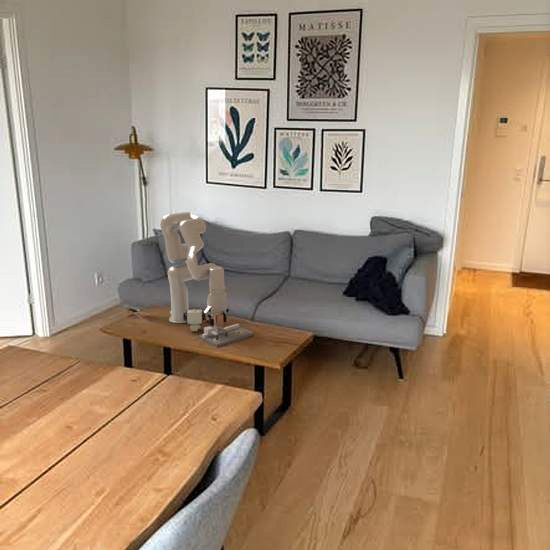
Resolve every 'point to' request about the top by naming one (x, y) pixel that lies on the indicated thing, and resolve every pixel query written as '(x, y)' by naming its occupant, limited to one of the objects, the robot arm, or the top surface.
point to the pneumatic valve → (194, 318)
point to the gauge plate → (224, 335)
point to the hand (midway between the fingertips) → (218, 323)
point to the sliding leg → (219, 322)
